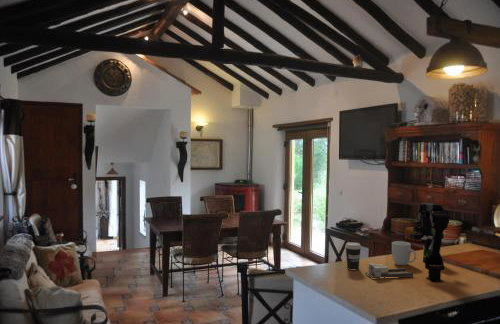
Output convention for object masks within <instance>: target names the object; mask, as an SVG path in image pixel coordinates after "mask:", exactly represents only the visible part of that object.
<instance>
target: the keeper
mask: <svg viewBox="0 0 500 324" xmlns="http://www.w3.org/2000/svg"><path fill="white" fill-rule="evenodd" d="M376 265H377V266H379V267H380V268H381V274H388V269H389V266H387V265H385V264H381V263H380V264H376Z"/></svg>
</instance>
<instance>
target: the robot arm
mask: <svg viewBox="0 0 500 324" xmlns="http://www.w3.org/2000/svg"><path fill="white" fill-rule="evenodd" d="M417 213H418V214H417V219H418V220H419V221H420V222H421V225H419V226H417V225H416V226H415V225H414V226H413V228H412V231H413V232H411V233H410V234H409V238H410V239H412V240H415V241H419V240H420V241H421V243H422V244H423V248H424V247H425V250H426V251H427V254H426V256H425V259H424V261H425V263H424V269H426V270H428V275H427V277H425V279H426V280H427V281H430V282H431V283H441V282H442V283H443V282H444V279H441V278H442V275H441V274H442V273H441V271H445V265H444V264H445V263H444V260H443V256H442V255H441V247H442V242H443V241H442V240H443V239H445V235H444V231H445V230H446V229H448V227H449V224H450V217H449V213H448V212H447V211H446V210H445V209H444V208H443V205H442V204H439V203H437V204H436V203H434V202H421V204H419V206H418V208H417ZM432 231H433V233H432ZM430 245H431V249H430V250H428V249H429V247H430Z"/></svg>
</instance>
